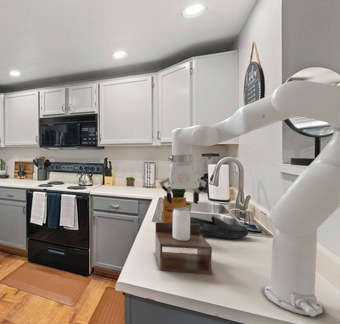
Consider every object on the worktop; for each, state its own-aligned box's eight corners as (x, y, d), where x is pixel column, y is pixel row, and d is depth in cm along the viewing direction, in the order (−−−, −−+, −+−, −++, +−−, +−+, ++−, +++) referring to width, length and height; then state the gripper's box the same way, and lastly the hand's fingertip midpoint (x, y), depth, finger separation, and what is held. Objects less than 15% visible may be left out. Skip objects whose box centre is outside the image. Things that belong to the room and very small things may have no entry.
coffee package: (163, 233, 121) (163, 193, 120) (188, 238, 114) (188, 196, 113) (158, 239, 113) (158, 196, 112) (184, 245, 106) (184, 199, 105)
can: (172, 240, 87) (173, 210, 86) (172, 234, 93) (172, 206, 92) (190, 242, 85) (191, 211, 84) (189, 236, 91) (189, 207, 90)
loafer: (252, 241, 110) (252, 221, 109) (190, 238, 114) (190, 218, 114) (241, 233, 120) (241, 215, 120) (184, 231, 125) (185, 213, 124)
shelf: (211, 274, 81) (211, 236, 80) (160, 270, 84) (160, 233, 83) (199, 256, 95) (199, 223, 94) (155, 253, 98) (155, 222, 97)
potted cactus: (163, 222, 141) (164, 175, 140) (190, 224, 136) (191, 175, 135) (162, 230, 127) (163, 177, 126) (192, 233, 122) (193, 178, 120)
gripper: (160, 160, 85) (161, 204, 86) (209, 159, 82) (209, 205, 83) (157, 160, 93) (158, 200, 93) (202, 159, 90) (202, 201, 90)
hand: (182, 202), depth 88 cm, fingers open, 9 cm apart
